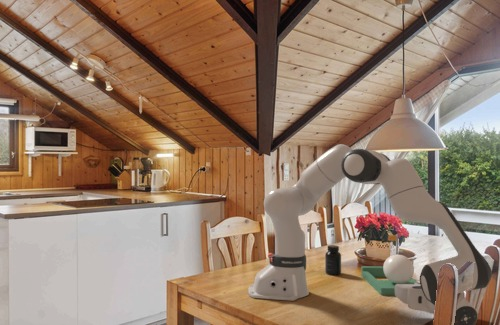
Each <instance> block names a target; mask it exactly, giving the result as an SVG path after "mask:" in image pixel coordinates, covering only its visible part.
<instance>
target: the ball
mask: <svg viewBox="0 0 500 325" xmlns="http://www.w3.org/2000/svg"><path fill="white" fill-rule="evenodd" d="M414 269H415V268H414V265H413V262H412V261H411V260H410V259H409V257H407V256H405V255H402V254H398V255H396V254H392V255H390V256H388V257H387V258H386V259H385V261H384V262H383V271H384V274H385V276H386V277H385V278H386V280H389V281H391V282H393V283H395V284H405V283H407V282H408V281H410V280H411V278H413V276H414V274H415V273H414V272H415V270H414Z"/></svg>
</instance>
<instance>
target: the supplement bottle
mask: <svg viewBox="0 0 500 325" xmlns="http://www.w3.org/2000/svg"><path fill="white" fill-rule="evenodd" d="M326 250H327V251H326V252H325V253H324V254H325V255H324V258H325V259H324V260H325V262H324V264H325V267H324V268H325V270H324V271H325V274H326V275H329V276H340V275H341V274H342V253H341V252H339V250H340V246H339V245H334V244H333V245H332V244H330V245H327V249H326Z"/></svg>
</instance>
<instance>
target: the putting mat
mask: <svg viewBox="0 0 500 325" xmlns="http://www.w3.org/2000/svg"><path fill="white" fill-rule="evenodd" d="M388 241H389V242H394V241H395V255H399V234H389V235H388ZM383 266H384V265H383ZM383 266H381V265H380V266H377V265H376V266H375V265H373V266H370V265H367V266H365V265H364V266H362V265H361V268H360V269H361V270H360V271H361V273H360V276H361V277H362V278H363V279H364V280H365V281H366V282H367V283H369V284H370V286H371V287H372V288H373V289H374V290H375V291H377V292H378V293H379V295H381V296H395V285H396V284H395V283H393V282H391V281H389V280H388V279H385V280H384V279H380V280H379V279H377V278H387V277H386V276H385V274H384V271H383ZM414 283H419V282H418V280H416V279H414V278H413V277H412V278H411V280H410V281H408V282H407V283H405V284H414Z"/></svg>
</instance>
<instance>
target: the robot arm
mask: <svg viewBox="0 0 500 325" xmlns="http://www.w3.org/2000/svg"><path fill="white" fill-rule="evenodd" d="M344 178H347V179H348V180H350V181H351V182H354V183H359V184H362V185H363V184H364V185H381V186H382V187H383V189H384V191H385V194H386V197H387V198H388V201H389V203H390V206H391V208H392V210H393V211H394V214H395V215H396V216H398V217H399V218H400V219H402V220H404V221H407V222H411V223H418V224H429V225H433V226H436V227H438V228H440V229H441V230H442V232H444V235H445V236H446V237H447V239H448V240H449V242H450V243H451V246H453V248H454V249H455V251H456V253H457V255H456V256H453V257H450V258H449V257H448V258H445V259H441V260H437V261H434V262H431V263H428V264H425V265H424V266H423V267H422V270H421V271H420V275H419V282H418V283H414V284H396V285H395V295H394V296H395V297H396V298H397V299H398V300H399V301H400V302H402V303H404V304H405V305H407V307H408V308H409V309H410V310H415V311H422V312H425V313H429V314H431V315H432V314H433V315H434V310H435V301H436V290H437V281H438V273H439V270H440V267H441V266H442V265H443V264H446V263H451V264H454V265H455V266H456V268H457V269H459V268H460V267H461V266H462V265H463V264H464V263H465V262H467V261H468V262H469V261H470V262H475V263H474V273H473V284H472V288H471V289H469V290H467V291H465V292H469V291H474V290H479V289H485V288H486V287H488V285H489V284H490V281H491V280H492V277H493V276H492V275H493V272H492V268H491V266H490V264H489V262H488V261H487V259H486V258H485V257H484V256H483V255H482V254H481V253H480V251H479V250H478V249H477V248H476V247H475V245H474V244H473V242H472V240H471V239H470V237H469V236H468V234H467V233H466V232H465V229H463V227H462V225H461V224H460V222H459V221H458V219H457V218H456V216H455V215H454V214H453V213H452V211H451V209H449V207H448V206H447V205H446V204H445V203H444V202H442V201H438V200H436V199H435V198H434V197H432V195H430V193H429V192H428V191H427V189H426V187H425V185H424V183H423V179H422V178H421V177H420V175H419V173H418V172H417V169H415V166H414V165H413V164H412V163H411V161H409V160H408V159H406V158H403V157H401V158H399V157H398V158H393V159H390V158H389V157H388V156H387V155H385V154H383V153H380V152H378V151H376V150H372V149H370V150H368V149H364V148H355V149H352V148H351V147H350V146H348V145H346V144H342V143H340V144H336V145H335V146H333V147H331V148H329V149H328V150H327V151H325V152H324V153H322V154H321V155H320V156H318V157H317V158H316V159H315V160H314V161H313V162H311V164H309V165H308V166H307V167H306V168H305V169H304V170H303V171H302V172H301V173H300V178H299V179H298V180H297V182H296V183H295V184H293V185H292V186H290V187H289V186H288V187H281V188H275V189H273V190H271V191H270V192H268V193H267V194H266V196H265V197H264V199H263V207H264V208H263V209H264V211H265V213H266V214H267V215H268V217H270V221H271V223H272V226H273V230H274V231H273V232H274V253H273V252H269V253H268V254H267V256H268V257H267V258H268V259H269V263H268V264H267V265H266V266H265V267H264V268H262V269H261V270H259V271H258V272H256V275H255V278H254V281H253V283H252V284H251V285H249V286H248V289H247V292H248V293H247V294H248V295H249V297H251V298H253V299H266V300H278V301H292V302H293V301H296V300H298V299H301V298H304V297H306V296H308V295H309V293H310V291H309V288H308V282H307V276H306V270H307V255H306V251H305V250H306V235H305V231H304V230H303V229H302V227H301V225H300V220H299V216H300V217H301V216H304V215H306V214H308V213H309V212H312V210H313V209H314V207H315V205H316V204H317V203H318V202H319V201H320V199H321V198H322V197H323V196H324V195H325V194H326V193H328V192H329V191H330V190H331V189H332V188H333V187H335V186H336V185H337V184H339V183H340V182H341V181H342V180H344ZM465 292H464V293H465ZM478 316H479V314H478V312H477V309H476V308H475V307H474V306H473V305H472V303H470V301H469V300H468V299H466V300H465V299H462V301H461V302H460V304H459V305H458V306H457V309H456V316H455V323H454V325H476V323H477V321H478Z"/></svg>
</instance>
